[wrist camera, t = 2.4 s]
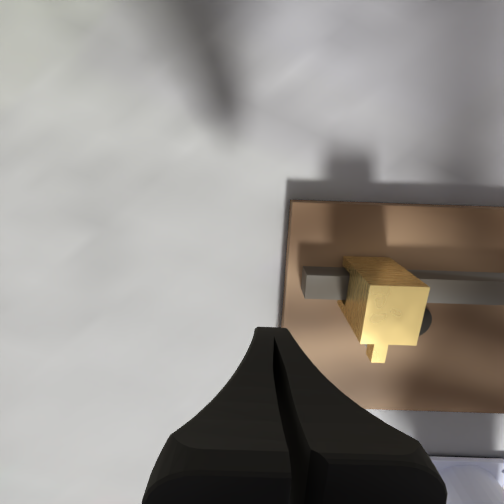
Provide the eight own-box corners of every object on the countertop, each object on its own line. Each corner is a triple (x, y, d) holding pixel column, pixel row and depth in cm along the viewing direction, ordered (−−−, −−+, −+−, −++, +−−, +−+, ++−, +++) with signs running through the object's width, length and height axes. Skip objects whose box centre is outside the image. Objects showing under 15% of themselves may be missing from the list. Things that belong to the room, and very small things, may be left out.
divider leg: (377, 326, 21) (410, 372, 16) (334, 325, 21) (355, 370, 16) (389, 257, 19) (430, 287, 15) (343, 256, 19) (370, 285, 15)
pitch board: (529, 402, 24) (629, 491, 18) (276, 394, 24) (284, 480, 18) (606, 210, 19) (783, 236, 13) (290, 199, 19) (308, 220, 13)
